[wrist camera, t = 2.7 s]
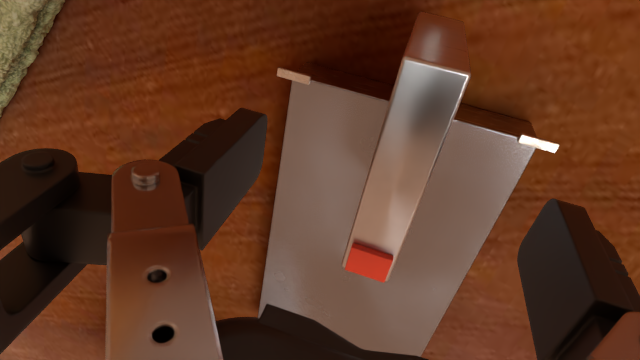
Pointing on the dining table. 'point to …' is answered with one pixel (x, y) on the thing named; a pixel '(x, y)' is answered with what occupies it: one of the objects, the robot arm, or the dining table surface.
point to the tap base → (343, 200)
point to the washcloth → (22, 39)
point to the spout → (409, 143)
